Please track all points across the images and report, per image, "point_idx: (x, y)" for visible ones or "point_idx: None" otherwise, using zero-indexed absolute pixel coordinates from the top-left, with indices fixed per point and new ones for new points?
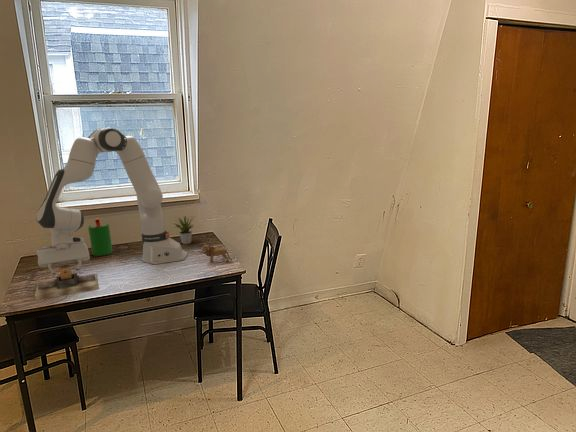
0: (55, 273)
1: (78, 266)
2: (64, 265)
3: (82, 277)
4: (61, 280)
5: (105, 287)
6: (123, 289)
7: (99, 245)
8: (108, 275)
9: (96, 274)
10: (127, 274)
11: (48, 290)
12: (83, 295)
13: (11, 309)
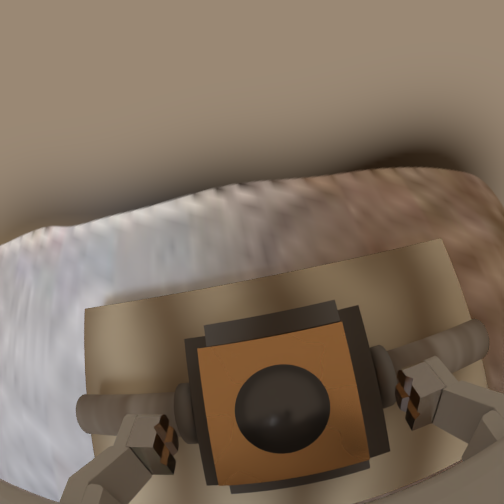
0: (398, 389)
1: (125, 434)
2: (303, 473)
3: (156, 401)
4: None
5: (74, 318)
6: (28, 261)
7: None
8: None
9: None
10: (5, 445)
11: (397, 305)
12: (174, 245)
13: (473, 187)
